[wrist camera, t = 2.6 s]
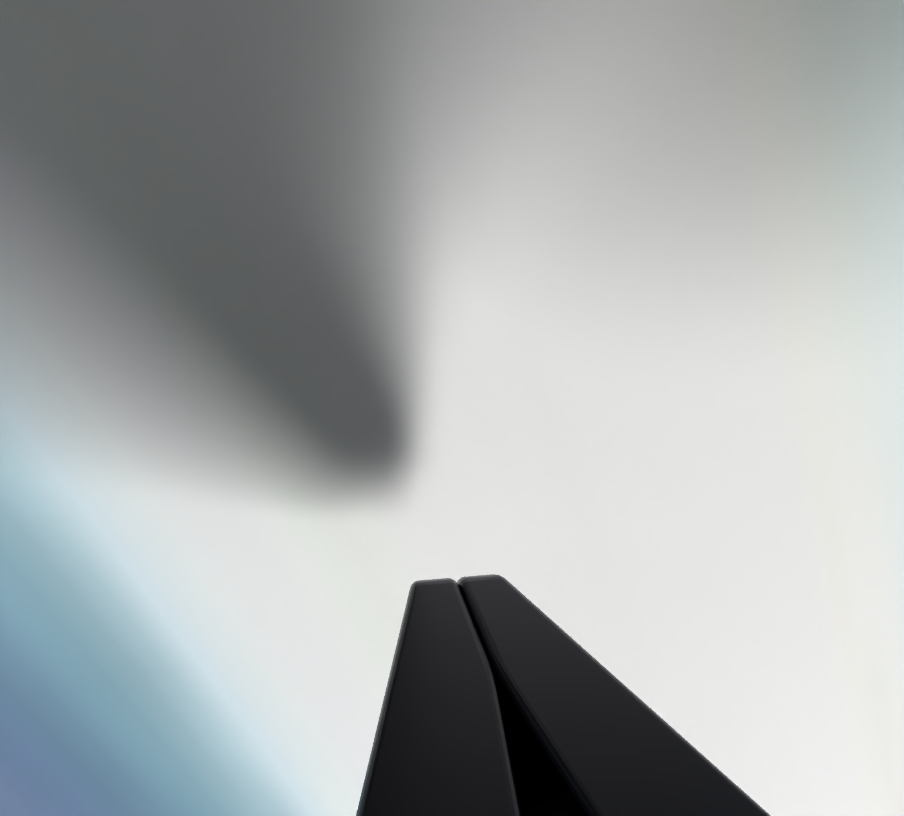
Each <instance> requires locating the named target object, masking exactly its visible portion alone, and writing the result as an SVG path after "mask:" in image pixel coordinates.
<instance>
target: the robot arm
mask: <svg viewBox="0 0 904 816" xmlns="http://www.w3.org/2000/svg"><path fill="white" fill-rule="evenodd" d="M356 816H770V815H769V814H768V813H767V812H766V811H765V810H764V809H762V808H761V807H760V806H759V805H758V804H757V803H756V802H755V801H753V800H752V799H751V798H750V797H749V796H748V795H747V794H746V793H745V792H743V791H742V790H741V789H740V788H739V787H738V786H737V785H736V784H734V783H733V782H732V781H731V780H730V779H729V778H728V777H727V776H725V775H724V774H723V773H722V772H721V771H720V770H719V769H718V768H717V767H715V766H714V765H713V764H712V763H711V762H710V761H709V760H708V759H706V758H705V757H704V756H703V755H702V754H701V753H700V752H699V751H698V750H696V749H695V748H694V747H693V746H692V745H691V744H690V743H689V742H687V741H686V740H685V739H684V738H683V737H682V736H681V735H680V734H678V733H677V732H676V731H675V730H674V729H673V728H672V727H671V726H670V725H668V724H667V723H666V722H665V721H664V720H663V719H662V718H661V717H659V716H658V715H657V714H656V713H655V712H654V711H653V710H652V709H651V708H649V707H648V706H647V705H646V704H645V703H644V702H643V701H642V700H640V699H639V698H638V697H637V696H636V695H635V694H634V693H633V692H631V691H630V690H629V689H628V688H627V687H626V686H625V685H624V684H623V683H621V682H620V681H619V680H618V679H617V678H616V677H615V676H614V675H612V674H611V673H610V672H609V671H608V670H607V669H606V668H605V667H603V666H602V665H601V664H600V663H599V662H598V661H597V660H596V659H595V658H593V657H592V656H591V655H590V654H589V653H588V652H587V651H586V650H584V649H583V648H582V647H581V646H580V645H579V644H578V643H577V642H576V641H574V640H573V639H572V638H571V637H570V636H569V635H568V634H567V633H565V632H564V631H563V630H562V629H561V628H560V627H559V626H558V625H556V624H555V623H554V622H553V621H552V620H551V619H550V618H549V617H548V616H546V615H545V614H544V613H543V612H542V611H541V610H540V609H539V608H537V607H536V606H535V605H534V604H533V603H532V602H531V601H530V600H529V599H527V598H526V597H525V596H524V595H523V594H522V593H521V592H520V591H518V590H517V589H516V588H515V587H514V586H513V585H512V584H511V583H509V582H508V581H507V580H506V579H505V578H503V577H501V576H499V575H494V574H493V575H481V576H469V577H462V578H461V579H459V580H458V581H457V583H456V581H454V580H452V579H451V578H444V579H432V580H420V581H415V582H414V583H413V584H412V585H411V588H410V591H409V596H408V600H407V604H406V608H405V612H404V617H403V621H402V625H401V629H400V633H399V638H398V642H397V646H396V650H395V654H394V659H393V663H392V667H391V671H390V675H389V680H388V684H387V688H386V692H385V696H384V701H383V705H382V709H381V713H380V717H379V722H378V726H377V730H376V734H375V738H374V743H373V747H372V751H371V755H370V759H369V764H368V768H367V772H366V776H365V780H364V785H363V789H362V793H361V797H360V801H359V806H358V810H357V814H356Z"/></svg>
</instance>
